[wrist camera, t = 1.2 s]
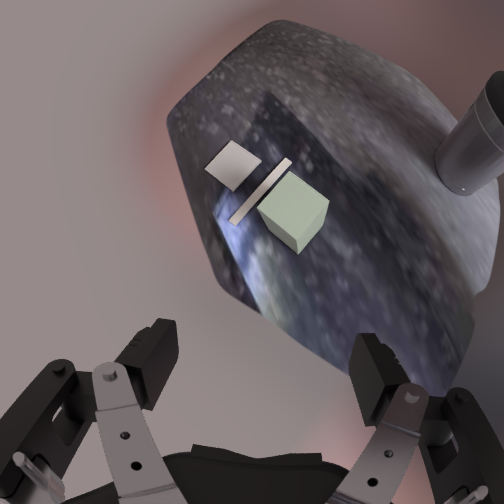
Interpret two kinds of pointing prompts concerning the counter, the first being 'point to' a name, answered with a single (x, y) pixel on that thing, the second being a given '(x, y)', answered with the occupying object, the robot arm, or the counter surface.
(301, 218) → the sage block
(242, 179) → the mat
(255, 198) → the pale grey thin rod
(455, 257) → the counter surface
